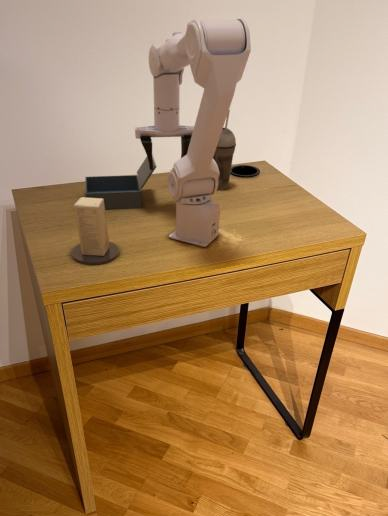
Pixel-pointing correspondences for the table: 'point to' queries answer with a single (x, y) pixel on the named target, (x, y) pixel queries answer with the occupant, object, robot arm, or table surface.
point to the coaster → (95, 259)
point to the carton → (115, 191)
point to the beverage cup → (224, 155)
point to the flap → (145, 171)
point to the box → (92, 226)
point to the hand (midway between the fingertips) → (167, 168)
